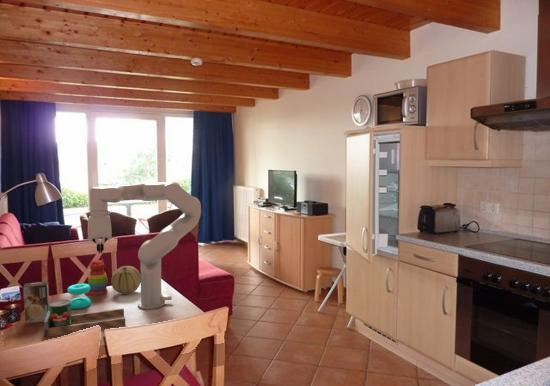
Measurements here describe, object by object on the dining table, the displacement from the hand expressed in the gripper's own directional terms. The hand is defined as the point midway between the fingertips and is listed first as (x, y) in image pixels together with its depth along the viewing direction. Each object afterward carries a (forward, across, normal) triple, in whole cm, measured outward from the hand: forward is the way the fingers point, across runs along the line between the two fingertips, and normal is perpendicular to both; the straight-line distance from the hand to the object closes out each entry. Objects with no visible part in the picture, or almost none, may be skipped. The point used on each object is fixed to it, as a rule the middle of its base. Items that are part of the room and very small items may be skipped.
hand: (100, 252), depth 191 cm
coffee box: (+27, +26, +4) cm, 38 cm away
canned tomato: (+27, +16, +19) cm, 37 cm away
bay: (+27, +6, +19) cm, 34 cm away
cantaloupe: (+27, -12, -19) cm, 36 cm away
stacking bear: (+27, +1, -26) cm, 37 cm away
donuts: (+27, +10, -8) cm, 30 cm away
